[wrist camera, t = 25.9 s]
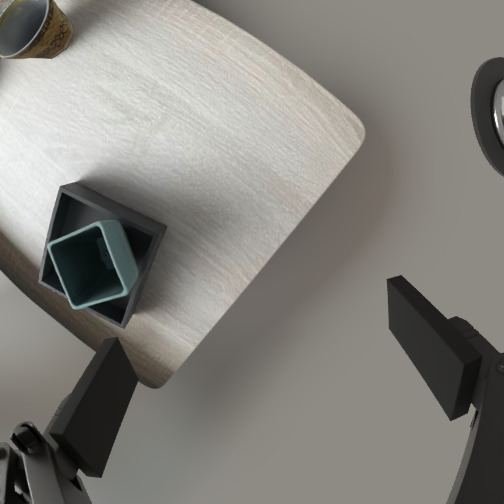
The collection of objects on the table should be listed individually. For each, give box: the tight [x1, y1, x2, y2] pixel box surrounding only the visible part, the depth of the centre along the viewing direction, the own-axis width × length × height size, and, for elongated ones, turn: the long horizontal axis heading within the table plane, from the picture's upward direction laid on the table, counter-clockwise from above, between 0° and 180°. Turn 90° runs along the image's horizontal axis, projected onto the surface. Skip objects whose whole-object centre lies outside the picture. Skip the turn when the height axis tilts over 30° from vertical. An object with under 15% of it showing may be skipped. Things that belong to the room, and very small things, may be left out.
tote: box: [38, 182, 167, 329], centre depth 41 cm, size 15×15×4 cm
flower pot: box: [47, 220, 139, 309], centre depth 37 cm, size 9×9×9 cm
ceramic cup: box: [0, 0, 74, 59], centre depth 28 cm, size 13×10×10 cm
